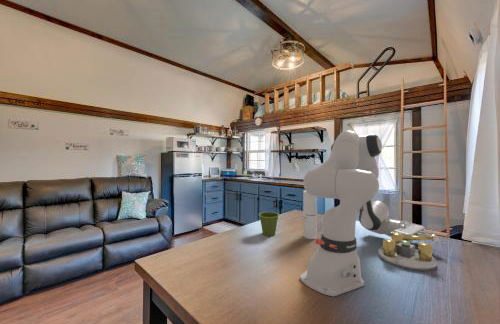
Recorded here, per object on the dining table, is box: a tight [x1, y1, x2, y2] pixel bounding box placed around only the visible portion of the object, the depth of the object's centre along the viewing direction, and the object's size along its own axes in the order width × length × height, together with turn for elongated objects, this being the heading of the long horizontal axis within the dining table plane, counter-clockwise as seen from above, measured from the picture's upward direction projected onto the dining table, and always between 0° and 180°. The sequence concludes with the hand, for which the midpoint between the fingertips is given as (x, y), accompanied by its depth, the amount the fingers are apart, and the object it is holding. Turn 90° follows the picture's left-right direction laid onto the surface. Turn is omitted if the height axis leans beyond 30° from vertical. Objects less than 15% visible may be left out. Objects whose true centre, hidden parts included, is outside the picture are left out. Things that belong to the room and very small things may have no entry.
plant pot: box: [258, 211, 280, 237], centre depth 127 cm, size 12×12×11 cm
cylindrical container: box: [302, 189, 318, 240], centre depth 122 cm, size 7×7×25 cm
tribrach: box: [377, 238, 437, 272], centre depth 95 cm, size 20×20×8 cm
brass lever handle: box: [390, 232, 439, 248], centre depth 101 cm, size 20×4×6 cm, turn 88°
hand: (430, 236), depth 103 cm, fingers closed
